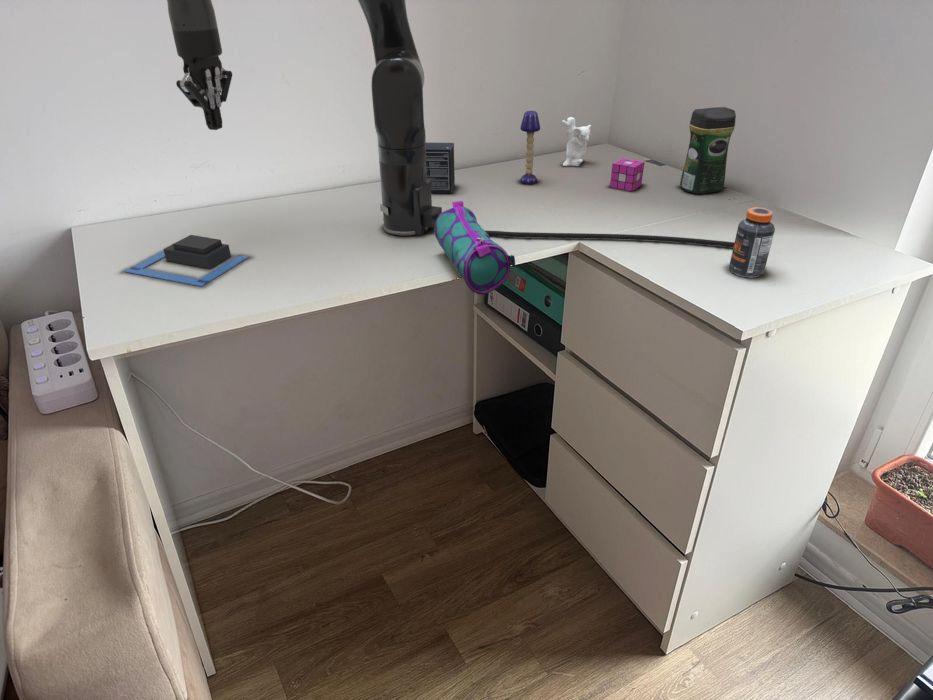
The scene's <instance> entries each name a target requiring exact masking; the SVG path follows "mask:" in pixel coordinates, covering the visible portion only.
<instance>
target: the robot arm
mask: <svg viewBox="0 0 933 700" xmlns="http://www.w3.org/2000/svg"><path fill="white" fill-rule="evenodd" d="M166 2H167V3H166V4H167V13H168V17H169V22H170V26H171V31H172V35H173V40H174V44H175V49H176V54H177V56H178V57H179V58H181V60H182V61H183V62H182V63H183V67H182V70H183V73H184V75H183V77H182V79H179V80H177V81H176V82H175V83H176V87H177V88H178V89H179V91H180V92H181V93H182V94H183V95H184V96H185V97H186V99H187V100H188V101H189V102H190V103H191V104H192V106H193V107H194V108H195V107H196V108H201V109H202V111H203V115H204V121H205V125H206V127H207V128H208V130H211V131H217V130H220V129H222V128H223V118H222V114H221V107H222V103H225V102H227V99H228V95H229V92H230V87H231V82H232V79H233V72H232V71H231V70H227V69H225V68H224V67H223V63H222V61H221V59H220V57H219V56H221V55H222V54H223V48H222V42H221V38H220V37H221V36H220V33H219V27H218V23H217V16H216V12H215V8H214V4H213V1H212V0H166ZM357 2H358V4H359V6H360V8H361V10H362V13H363V15H364V18H365V21H366V23H367V26H368V30H369V33H370V38H371V44H372V49H373V55H374V63H375V67H374V68H373V72H372V75H371V82H370V83H371V85H370V87H371V99H372V101H371V102H372V110H373V122H374V129H375V133H376V138H377V151H378V164H379V177H380V180H379V181H380V191H381V194H380V195H381V203H379V207H380V209H379V210H380V211H381V212H382V221H383V223H382V225H383V230H384V231H385V232H386V233H387V234H390V235H394V236H402V237H404V236H406V237H407V236H408V237H409V236H422V235H423V234H424V233H426V232H427V231H428V230H429V229H431V228H434V227H435V222H436V220H437V218H438V217H439V215H440V214H441V213H442V212H443V207H442V206H435V205H433V204H432V202H433V200H432V193H431V181H430V180H427V168H426V142H427V140H426V139H427V136H426V127H425V126H426V125H425V114H424V113H425V111H424V85H425V71H424V68H423V66H422V62H421V60H420V56H419V53H418V50H417V47H416V43H415V41H414V37H413V33H412V31H411V27H410V26H411V25H410V22H409V19H408V13H407V4H406V0H357ZM484 231H485V232H486V233H487V234H488V235H489V237H490V236H493V237H494V236H495V237H508V238H511V237H512V238H540V239H541V238H542V239H543V238H544V239H589V240H590V239H592V240H593V239H594V240H595V239H596V240H597V239H598V240H628V241H629V240H630V241H631V240H632V241H651V242H652V241H653V242H669V243H681V244H682V243H683V244H695V245H706V246H716V247H726V248H733V247H734V243H735V241H725V240H716V239H715V240H714V239H704V238H694V237H681V236H680V237H679V236H668V235H667V236H665V235H650V234H649V235H648V234H647V235H646V234H625V233H623V234H622V233H587V232H586V233H585V232H584V233H581V232H577V233H575V232H534V231H533V232H531V231H530V232H527V231H526V232H525V231H524V232H523V231H503V230H484Z"/></svg>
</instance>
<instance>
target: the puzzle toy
mask: <svg viewBox="0 0 933 700" xmlns="http://www.w3.org/2000/svg"><path fill="white" fill-rule="evenodd" d="M644 169H645V161H641V160H636V159H635V160H634V159H629V158H624V157H623V158H622V157H621V159H618V160H617V161H615V162H613V163H612V164H611V173H610V182H609V188H612V189H618V190H622V191H627V192H633V191H635V190H637V189H638V188H640V187H641V186H642V185H643V176H644Z"/></svg>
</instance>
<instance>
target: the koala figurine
mask: <svg viewBox="0 0 933 700" xmlns="http://www.w3.org/2000/svg"><path fill="white" fill-rule="evenodd" d="M561 123H562V124H563V125H564V126H565V127H566V129H565V136H566V138H567V139H568V140H567V141H568V142H567V143H566V152H565V156H566V159H565V160H564V162H563V163H562V166H563V167H569V166H571V167H579V166H580V165H581V164H582V163H583V159H582V158H583V157H584V156H585V155H586V154H587V152H588V150H587V146H588V141H590V136H591V132H592V128H593V126H592V124H588V125H586V126H585V125H583V126H579V127H578V126H576V118H575V117H572V116H569V117H567V119H566V120H565V119H562V120H561Z"/></svg>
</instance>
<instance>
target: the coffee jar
mask: <svg viewBox="0 0 933 700" xmlns="http://www.w3.org/2000/svg"><path fill="white" fill-rule="evenodd" d="M736 118H737V115H736V111H735V109H732V108H730V107H726V106H717V107H716V106H715V107H706V108H704V107H703V108H696V109H694V110H693V111H692V113H691V118H690V122H689V132H690V137H689V144H688V148H687V154H686V158H685V162H684V165H683V170H682V173H681V177H680V182H679V186H680V187H681V189H682V190H684V191H685V192H687V193H693V194H710V193H715V192H720V191H722V190H723V189H724V188H725V181H726V180H725V179H726V171H727V170H726V169H727V159H728V152H729V144H730V141H731V137H732V135H733V132H734V131H735V127H736Z"/></svg>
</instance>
